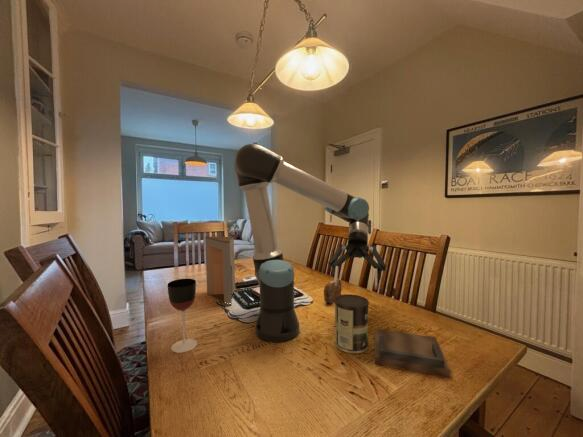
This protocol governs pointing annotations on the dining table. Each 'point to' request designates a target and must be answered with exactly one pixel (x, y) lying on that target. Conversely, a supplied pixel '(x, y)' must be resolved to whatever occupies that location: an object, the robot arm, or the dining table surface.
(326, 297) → the brown rounded slab
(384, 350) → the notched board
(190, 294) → the wineglass
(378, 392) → the dining table surface
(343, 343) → the coffee can
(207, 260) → the cabinet
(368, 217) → the robot arm
